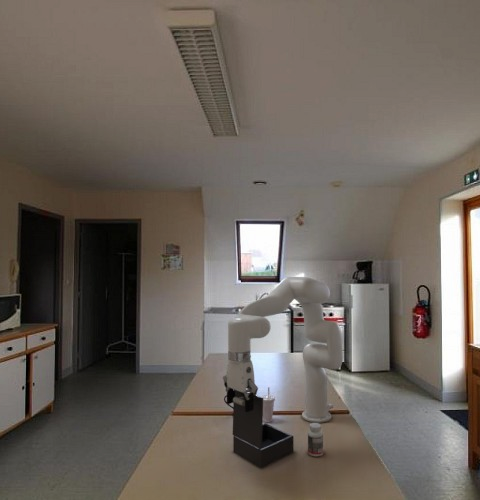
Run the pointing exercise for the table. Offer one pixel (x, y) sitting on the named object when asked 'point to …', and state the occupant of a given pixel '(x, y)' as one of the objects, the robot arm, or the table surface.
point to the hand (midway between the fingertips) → (239, 406)
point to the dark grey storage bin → (265, 447)
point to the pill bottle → (315, 440)
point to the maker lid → (248, 420)
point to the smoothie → (268, 407)
